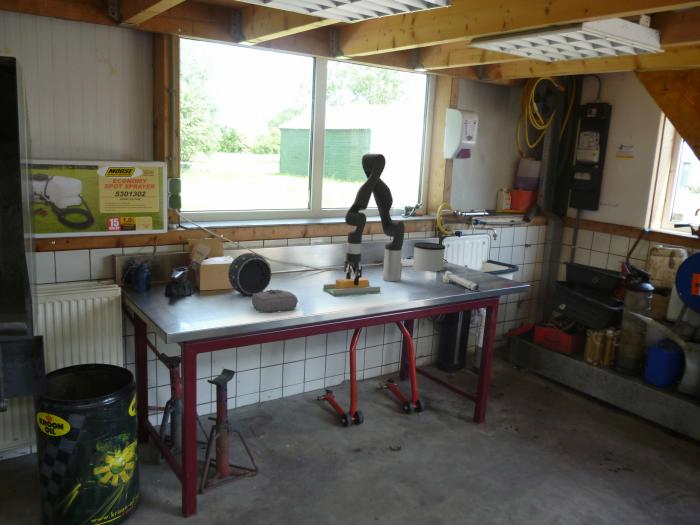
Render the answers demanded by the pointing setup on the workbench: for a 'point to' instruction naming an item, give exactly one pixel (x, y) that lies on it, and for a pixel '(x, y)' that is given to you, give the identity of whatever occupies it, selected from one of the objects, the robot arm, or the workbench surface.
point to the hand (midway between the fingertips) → (352, 283)
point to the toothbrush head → (459, 281)
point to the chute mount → (350, 290)
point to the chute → (350, 283)
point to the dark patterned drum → (249, 274)
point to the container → (428, 256)
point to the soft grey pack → (274, 301)
